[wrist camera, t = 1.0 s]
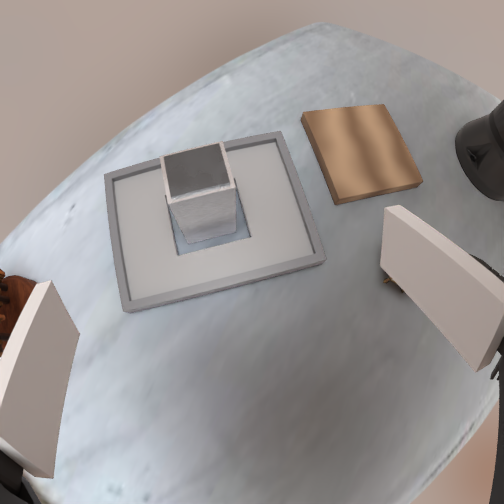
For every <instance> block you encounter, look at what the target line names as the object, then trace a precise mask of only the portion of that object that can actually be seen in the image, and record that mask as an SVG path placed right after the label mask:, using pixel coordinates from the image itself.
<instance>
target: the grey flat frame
mask: <svg viewBox="0 0 504 504" xmlns="http://www.w3.org/2000/svg"><path fill="white" fill-rule="evenodd" d="M223 144H224V148H225V151H226V155H227V158H228V162H229V165H230V169H231V172H232V176H233V179H234V183H235V185H236V188H237V192H238V195H239V199H240V202H241V206H242V209H243V213H244V216H245V220H246V223H247V227H248V231H249V234H250V238H246V239H242V240H238V241H234V242H230V243H226V244H222V245H218V246H214V247H210V248H206V249H202V250H198V251H194V252H190V253H186V254H182V255H178V251H177V246H176V241H175V236H174V232H173V227H172V222H171V217H170V212H169V206H168V202H167V196H166V191H165V185H164V180H163V174H162V168H161V162H160V158H157V159H153V160H150V161H146V162H143V163H139V164H136V165H132V166H129V167H126V168H123V169H119V170H116V171H113V172H110V173H107V174H104V180H105V192H106V202H107V212H108V221H109V229H110V237H111V244H112V251H113V258H114V264H115V270H116V276H117V282H118V288H119V293H120V298H121V303H122V308H123V312H127V313H133V312H137V311H141V310H145V309H150V308H154V307H158V306H162V305H166V304H170V303H174V302H178V301H183V300H187V299H191V298H195V297H199V296H203V295H207V294H210V293H214V292H218V291H222V290H226V289H230V288H234V287H238V286H242V285H245V284H249V283H253V282H257V281H261V280H264V279H268V278H272V277H276V276H279V275H283V274H287V273H290V272H294V271H298V270H301V269H305V268H309V267H312V266H316V265H319V264H322V263H323V262H324V261H325V260H326V256H325V253H324V249H323V246H322V243H321V240H320V237H319V234H318V231H317V228H316V225H315V222H314V219H313V217H312V214H311V211H310V208H309V205H308V202H307V199H306V197H305V194H304V191H303V188H302V185H301V183H300V180H299V177H298V174H297V172H296V169H295V166H294V164H293V161H292V158H291V156H290V153H289V150H288V148H287V145H286V143H285V140H284V137H283V135H282V132H281V131H277V132H272V133H266V134H261V135H256V136H250V137H245V138H240V139H236V140H231V141H226V142H223Z"/></svg>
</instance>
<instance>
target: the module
mask: <svg viewBox="0 0 504 504" xmlns="http://www.w3.org/2000/svg"><path fill="white" fill-rule="evenodd" d="M160 162H161V168H162V174H163V180H164V185H165V191H166V196H167V202H168V205H169V207H170V209H171V211H172V213H173V215H174V217H175V219H176V221H177V223H178V225H179V227H180V229H181V231H182V233H183V235H184V236H185V238H186V240H187V242H188V244H191V243H195V242H199V241H203V240H207V239H211V238H215V237H219V236H223V235H227V234H231V233H235V232H236V186H235V183H234V179H233V176H232V172H231V169H230V165H229V162H228V158H227V155H226V151H225V148H224V144H223V141H221V142H216V143H212V144H207V145H203V146H199V147H195V148H191V149H187V150H183V151H179V152H175V153H171V154H167V155H163V156H160Z"/></svg>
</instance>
